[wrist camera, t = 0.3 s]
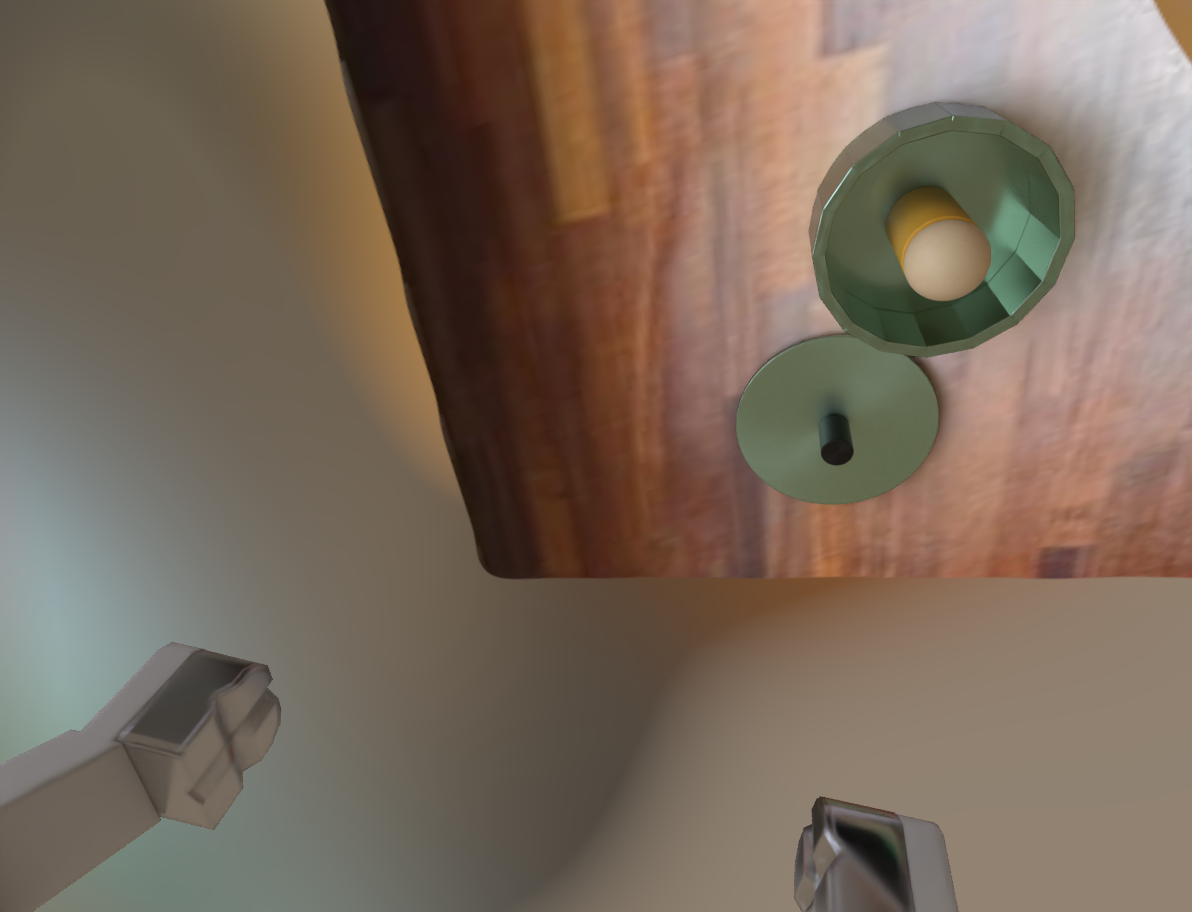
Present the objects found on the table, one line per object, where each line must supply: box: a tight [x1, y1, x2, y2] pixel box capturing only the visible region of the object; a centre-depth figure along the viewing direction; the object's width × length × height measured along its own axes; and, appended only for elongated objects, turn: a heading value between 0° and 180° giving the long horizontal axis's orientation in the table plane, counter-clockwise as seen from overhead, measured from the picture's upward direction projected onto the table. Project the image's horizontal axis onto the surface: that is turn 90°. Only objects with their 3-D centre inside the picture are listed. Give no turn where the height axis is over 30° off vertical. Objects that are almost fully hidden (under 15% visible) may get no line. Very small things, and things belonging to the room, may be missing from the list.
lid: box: [736, 335, 939, 504], centre depth 57 cm, size 16×16×5 cm
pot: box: [809, 102, 1075, 358], centre depth 47 cm, size 15×15×6 cm
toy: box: [886, 187, 991, 301], centre depth 44 cm, size 5×5×11 cm
